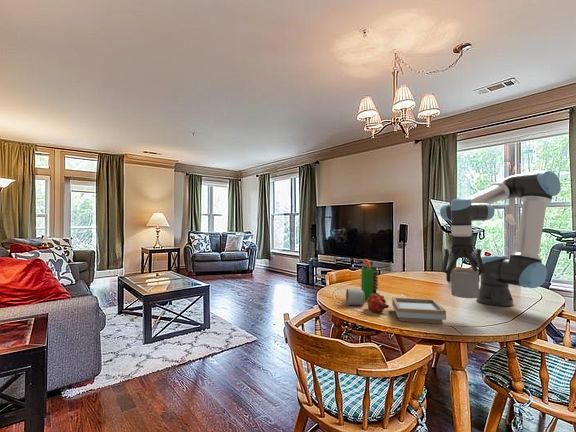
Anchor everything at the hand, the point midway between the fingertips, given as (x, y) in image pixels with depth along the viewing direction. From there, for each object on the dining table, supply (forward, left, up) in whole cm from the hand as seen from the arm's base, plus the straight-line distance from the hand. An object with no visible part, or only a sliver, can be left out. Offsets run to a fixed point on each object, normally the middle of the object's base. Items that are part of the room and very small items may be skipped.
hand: (463, 289), depth 131 cm
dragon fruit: (+34, -4, -12) cm, 37 cm away
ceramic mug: (+45, -14, -12) cm, 48 cm away
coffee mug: (0, 0, -2) cm, 2 cm away
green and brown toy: (+36, -28, -12) cm, 47 cm away
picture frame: (+18, +1, -12) cm, 22 cm away
